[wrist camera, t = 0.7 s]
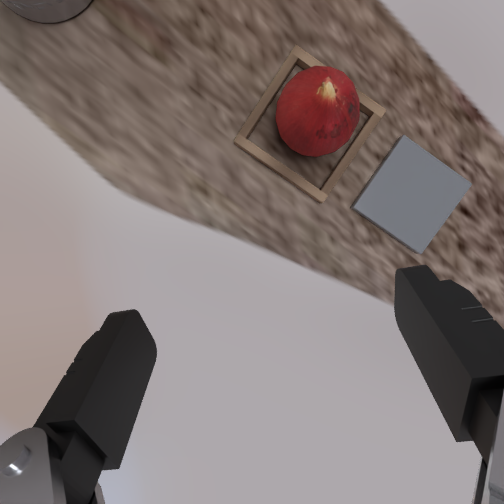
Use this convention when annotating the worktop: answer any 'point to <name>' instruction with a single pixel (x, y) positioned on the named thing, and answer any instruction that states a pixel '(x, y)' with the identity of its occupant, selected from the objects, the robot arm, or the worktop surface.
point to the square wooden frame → (241, 141)
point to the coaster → (411, 195)
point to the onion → (317, 111)
